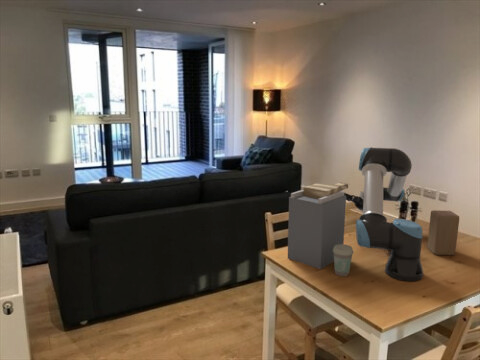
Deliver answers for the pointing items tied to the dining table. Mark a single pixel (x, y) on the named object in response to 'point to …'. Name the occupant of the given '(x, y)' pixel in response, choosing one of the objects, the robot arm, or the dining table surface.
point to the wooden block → (443, 232)
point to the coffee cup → (342, 259)
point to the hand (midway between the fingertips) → (348, 191)
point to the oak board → (323, 189)
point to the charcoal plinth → (315, 228)
